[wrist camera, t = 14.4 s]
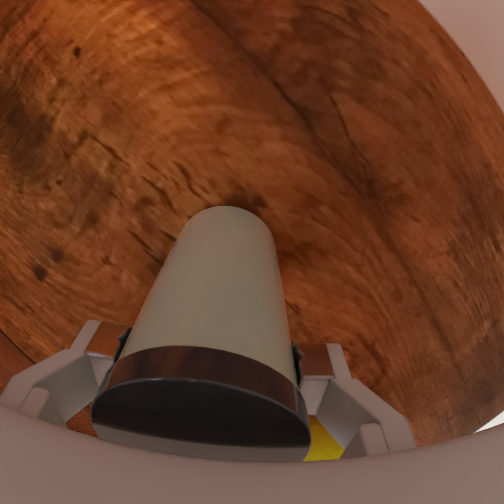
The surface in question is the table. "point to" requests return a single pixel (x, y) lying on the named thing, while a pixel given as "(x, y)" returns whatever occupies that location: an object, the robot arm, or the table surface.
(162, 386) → the jar
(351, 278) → the table surface
